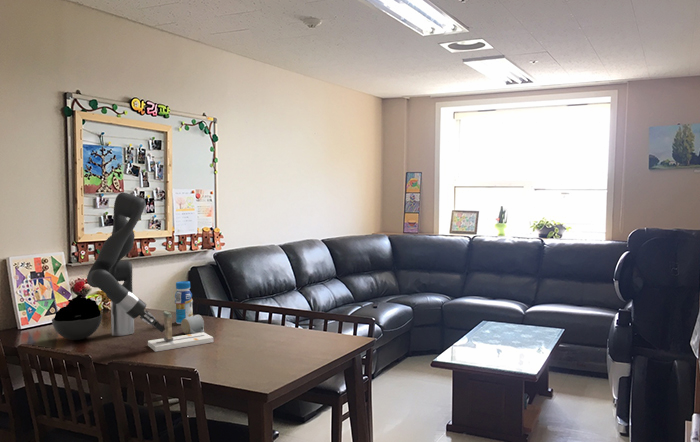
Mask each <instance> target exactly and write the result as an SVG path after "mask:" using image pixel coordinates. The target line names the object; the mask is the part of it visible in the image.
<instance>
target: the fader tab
mask: <svg viewBox="0 0 700 442" xmlns="http://www.w3.org/2000/svg"><path fill="white" fill-rule="evenodd" d="M172 314H173V313H171V312H170V311H168V310H165V311H163V320H164V321H163V323H164V324H163V325H164V326H163V327H165V330H164V336H163V338H164V340H165V341H173V338H172V337H173V325H172V321H173V320H172V317H173V315H172Z"/></svg>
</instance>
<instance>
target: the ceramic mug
mask: <svg viewBox="0 0 700 442" xmlns="http://www.w3.org/2000/svg"><path fill="white" fill-rule="evenodd" d="M180 327H181V330H182V333H184V334H185V335H188V334H196V333H202V332H205V329H204V328H205V321H204V318H203V317H202V315H200V314H195V315H193V316H191V317H188V318H185V319H183V320H182V322H181V324H180Z"/></svg>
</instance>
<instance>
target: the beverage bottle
mask: <svg viewBox="0 0 700 442" xmlns="http://www.w3.org/2000/svg"><path fill="white" fill-rule="evenodd" d="M175 289H176V290H177V291H176V292H175V294H174V299H175V300H174V304H175V306H174V307H175V323H176V324H178V325H181V322H182V320H183V319H185V318H188V317H191V316H194V315H193V314H194V313H193V302H194V300H193V298H192V297H193V293H192V291H191V290H190V289H191V281H189V280H186V281H185V280H181V281H176V283H175Z"/></svg>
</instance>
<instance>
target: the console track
mask: <svg viewBox="0 0 700 442" xmlns="http://www.w3.org/2000/svg"><path fill="white" fill-rule="evenodd" d="M201 332H202V331H201ZM172 338H173V341H165V340H164V337H163V338H158V339H157V338H156V339H151V340H147V346H148V347H149V348H150V349H151V350H153V351H154V352H162V351H167V350H169V351H170V350H174V349H179V348H187V347H193V346H199V345H205V344H209V343H214V336H212V335H209V334H208V333H206V332H205V331H204V332H202V333H196V334H192V333H191V334H185V335H177V336H172Z"/></svg>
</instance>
